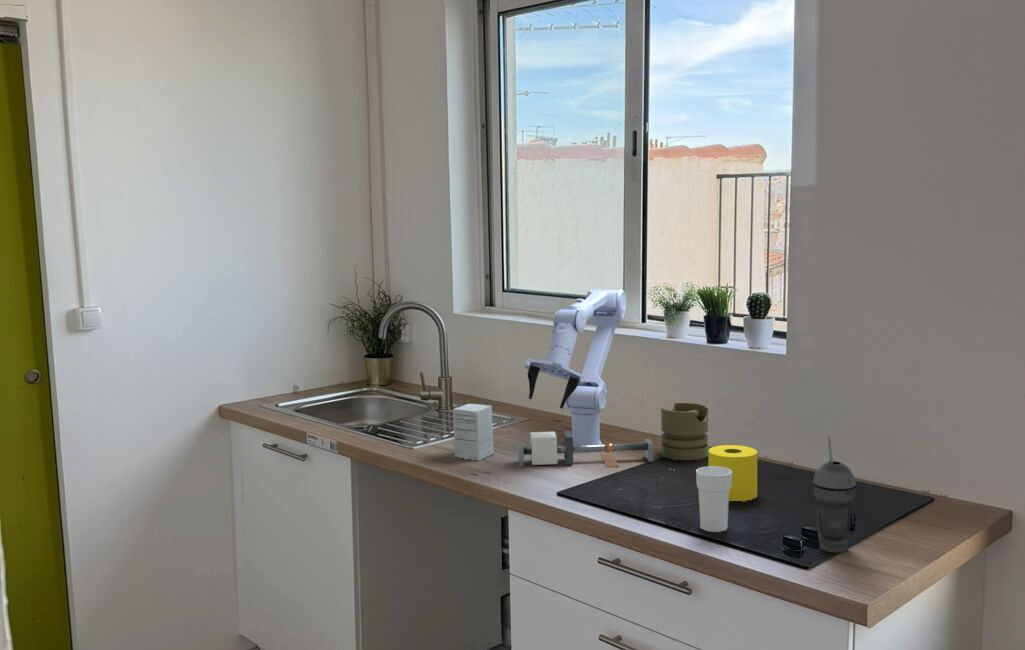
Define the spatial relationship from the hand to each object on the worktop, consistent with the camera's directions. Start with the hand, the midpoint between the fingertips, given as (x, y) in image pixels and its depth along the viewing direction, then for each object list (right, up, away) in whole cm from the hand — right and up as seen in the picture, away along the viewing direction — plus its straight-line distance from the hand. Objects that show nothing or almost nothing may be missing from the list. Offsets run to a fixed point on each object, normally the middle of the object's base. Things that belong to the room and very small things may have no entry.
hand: (546, 402), depth 219 cm
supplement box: (-18, -15, +15) cm, 27 cm away
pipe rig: (+10, -15, +7) cm, 19 cm away
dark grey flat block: (+6, -15, +7) cm, 17 cm away
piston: (+35, -14, +10) cm, 39 cm away
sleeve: (0, -15, +6) cm, 17 cm away
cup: (+30, -20, -42) cm, 56 cm away
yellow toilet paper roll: (+39, -18, -22) cm, 48 cm away
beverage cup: (+49, -21, -55) cm, 76 cm away
